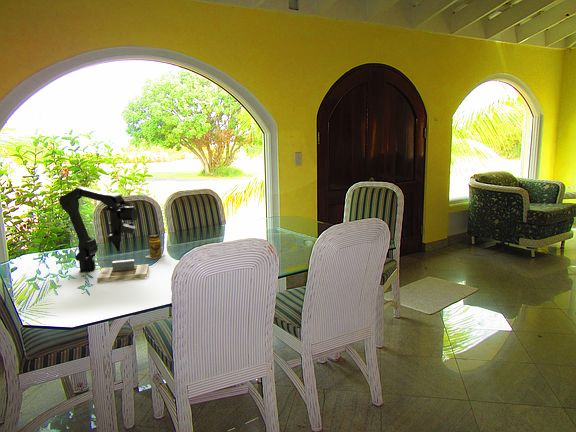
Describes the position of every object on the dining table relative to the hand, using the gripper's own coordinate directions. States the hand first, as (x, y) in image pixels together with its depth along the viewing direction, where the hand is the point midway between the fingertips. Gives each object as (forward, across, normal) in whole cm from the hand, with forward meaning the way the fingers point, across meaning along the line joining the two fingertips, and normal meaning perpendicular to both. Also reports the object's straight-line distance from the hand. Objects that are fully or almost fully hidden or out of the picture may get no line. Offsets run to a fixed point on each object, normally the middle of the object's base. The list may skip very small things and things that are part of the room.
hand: (118, 250), depth 225 cm
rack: (+11, -4, -2) cm, 12 cm away
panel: (+11, -4, -2) cm, 12 cm away
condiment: (+11, +24, -15) cm, 30 cm away
